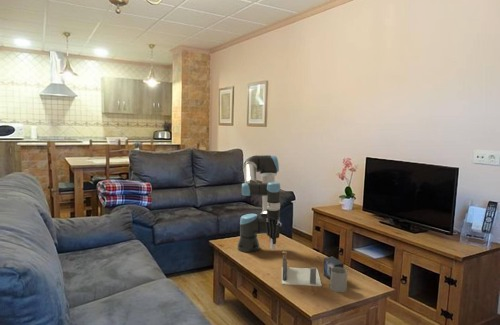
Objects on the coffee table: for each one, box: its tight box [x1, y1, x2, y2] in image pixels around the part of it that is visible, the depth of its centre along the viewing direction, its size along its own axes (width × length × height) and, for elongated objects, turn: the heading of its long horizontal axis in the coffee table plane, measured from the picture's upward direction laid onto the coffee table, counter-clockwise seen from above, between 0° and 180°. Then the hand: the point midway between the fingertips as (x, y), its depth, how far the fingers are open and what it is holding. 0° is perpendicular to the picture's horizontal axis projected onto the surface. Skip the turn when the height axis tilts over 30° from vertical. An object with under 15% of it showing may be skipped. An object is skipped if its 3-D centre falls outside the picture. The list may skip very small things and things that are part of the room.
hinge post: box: [281, 260, 288, 281], centre depth 193 cm, size 2×2×11 cm
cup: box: [329, 267, 348, 293], centre depth 185 cm, size 8×8×10 cm
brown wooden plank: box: [281, 251, 288, 262], centre depth 203 cm, size 2×16×9 cm, turn 175°
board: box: [281, 266, 322, 287], centre depth 199 cm, size 21×21×1 cm
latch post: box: [309, 266, 317, 284], centre depth 189 cm, size 2×3×9 cm
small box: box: [323, 256, 345, 281], centre depth 196 cm, size 11×6×10 cm, turn 23°
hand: (272, 248), depth 206 cm, fingers closed
